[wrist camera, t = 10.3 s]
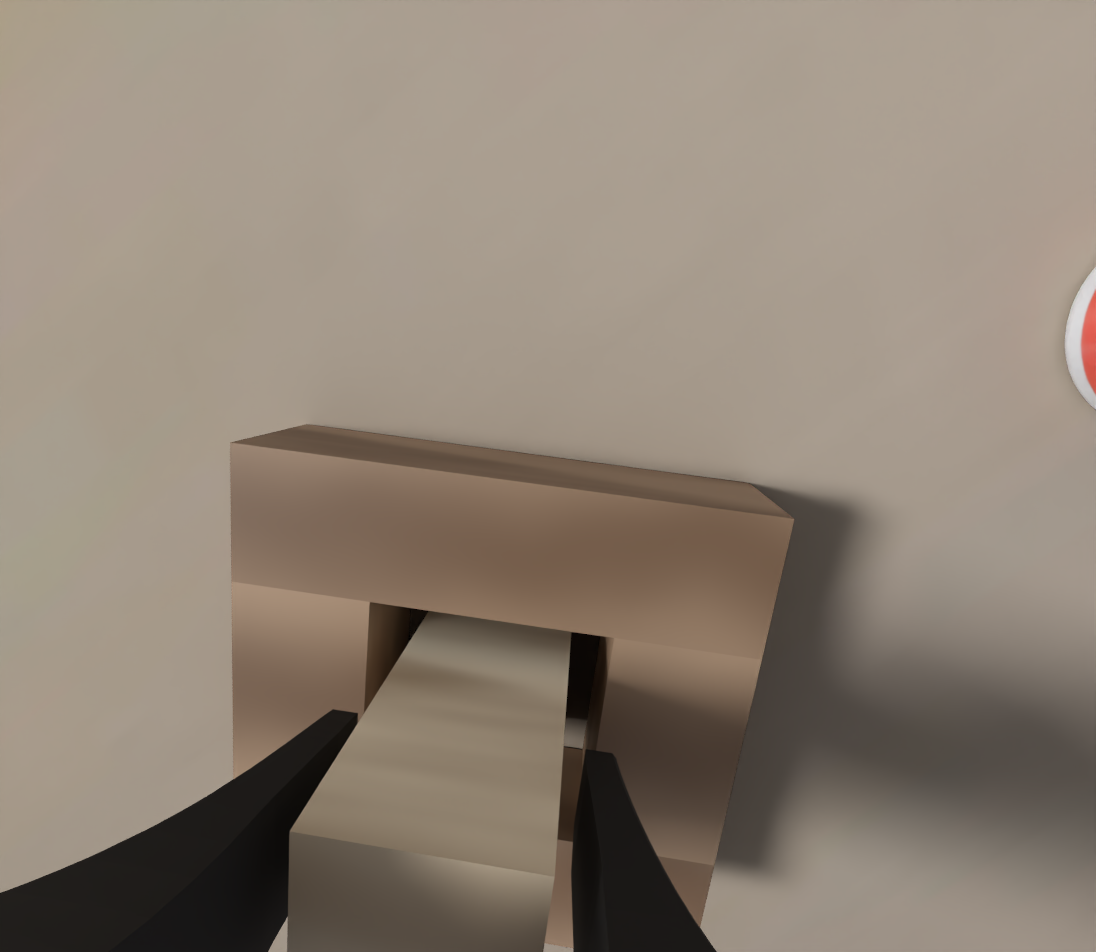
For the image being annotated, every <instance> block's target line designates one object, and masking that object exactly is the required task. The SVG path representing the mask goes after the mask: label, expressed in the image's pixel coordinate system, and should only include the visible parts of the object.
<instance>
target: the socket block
mask: <svg viewBox="0 0 1096 952" xmlns="http://www.w3.org/2000/svg"><path fill="white" fill-rule="evenodd" d="M230 472H231V573H232V674H233V774H234V779H235V778H236V777H238V776H239V775H241V774H242V773H244V772H245V771H247V770H249V769H250V768H252V767H253V766H254V765H256V764H257V763H259V762H260V761H262V760H263V759H264V758H266V757H267V756H269V755H270V754H271V753H273V752H274V751H276V750H277V749H279V748H280V747H281V746H283V745H284V744H285V743H287V742H288V741H290V740H291V739H292V738H294V737H295V736H296V735H298V734H299V733H301V732H302V731H303V730H305V729H306V728H307V727H309V726H310V725H311V724H313V723H314V722H315V721H317V720H318V719H320V718H321V717H322V716H324V715H325V714H327V713H328V712H330V711H331V710H332V709H335V710H342V711H348V712H354V713H358V722H359V721H360V719H361V718H362V716H363V714H364V713H365V711H366V710H367V708H368V706H369V705H370V703H371V702H372V700H373V699H374V697H375V695H376V694H377V692H378V691H379V689H380V687H381V686H382V684H383V683H384V681H385V680H386V678H387V676H388V675H389V673H390V672H391V670H392V668H393V667H394V665H395V664H396V662H397V661H398V659H399V657H400V656H401V654H402V653H403V651H404V650H405V648H406V646H407V645H408V639H409V624H410V610H411V608H414V609H421V610H427V611H434V612H441V613H448V614H455V615H461V616H468V617H475V618H482V619H488V620H495V621H502V622H509V623H516V624H522V625H529V626H536V627H543V628H549V629H556V630H563V631H570V632H577V633H583V634H590V635H597V636H600V641H599V648H598V654H597V661H596V667H595V673H594V680H593V686H592V693H591V699H590V705H589V712H588V718H587V725H586V731H585V737H584V744H583V750H580V749H574V748H567V747H563V762H562V777H561V791H560V806H559V821H558V835H557V850H556V865H555V878H554V884H553V891H552V897H551V904H550V910H549V917H548V923H547V930H546V936H545V942H544V943H547V944H553V945H558V946H564V947H570V948H573V920H572V889H571V865H572V848H573V831H574V820H575V814H576V808H577V801H578V795H579V789H580V782H581V776H582V769H583V763H584V757H585V750H586V749H589V750H596V751H602V752H608V753H613V755H614V756H615V757H616V759H617V763H618V766H619V769H620V772H621V775H622V778H623V780H624V783H625V786H626V788H627V791H628V793H629V796H630V798H631V801H632V803H633V806H634V808H635V810H636V813H637V815H638V817H639V819H640V821H641V823H642V826H643V828H644V830H645V832H646V834H647V836H648V838H649V841H650V842H651V844H652V846H653V848H654V850H655V852H656V854H657V856H658V858H659V860H660V862H661V864H662V866H663V867H664V869H665V871H666V873H667V875H668V877H669V878H670V880H671V882H672V884H673V885H674V887H675V889H676V891H677V892H678V894H679V896H680V897H681V899H682V901H683V902H684V904H685V905H686V907H687V908H688V910H689V912H690V913H691V915H692V916H693V918H694V920H695V921H696V923H697V924H698V926H699V927H700V925H701V921H702V916H703V912H704V908H705V903H706V899H707V895H708V890H709V886H710V882H711V877H712V873H713V869H714V865H715V860H716V856H717V852H718V847H719V843H720V839H721V834H722V830H723V826H724V821H725V817H726V813H727V808H728V804H729V800H730V795H731V791H732V787H733V782H734V778H735V774H736V770H737V765H738V761H739V757H740V752H741V748H742V744H743V739H744V735H745V731H746V726H747V722H748V718H749V713H750V709H751V705H752V700H753V696H754V692H755V687H756V683H757V679H758V675H759V670H760V666H761V662H762V657H763V653H764V649H765V644H766V640H767V636H768V631H769V627H770V623H771V618H772V614H773V610H774V605H775V601H776V597H777V592H778V588H779V584H780V580H781V575H782V571H783V567H784V562H785V558H786V554H787V549H788V545H789V541H790V536H791V532H792V528H793V523H794V518H793V517H791V516H790V515H789V514H788V513H786V512H785V511H784V510H783V509H781V508H780V507H779V506H778V505H776V504H775V503H774V502H772V501H771V500H770V499H769V498H767V497H766V496H765V495H764V494H762V493H761V492H760V491H759V490H757V489H756V488H755V487H754V486H752V485H751V484H750V483H744V482H737V481H729V480H722V479H714V478H706V477H699V476H691V475H684V474H676V473H669V472H661V471H654V470H646V469H639V468H631V467H624V466H616V465H609V464H601V463H593V462H586V461H578V460H571V459H563V458H556V457H548V456H541V455H533V454H526V453H518V452H511V451H503V450H495V449H488V448H480V447H473V446H465V445H458V444H450V443H443V442H435V441H428V440H420V439H413V438H405V437H398V436H390V435H382V434H375V433H367V432H360V431H352V430H345V429H337V428H330V427H322V426H315V425H307V424H306V425H302V426H298V427H293V428H289V429H285V430H281V431H277V432H273V433H268V434H264V435H260V436H256V437H252V438H248V439H243V440H239V441H235V442H231V443H230Z"/></svg>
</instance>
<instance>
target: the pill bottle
mask: <svg viewBox="0 0 1096 952" xmlns="http://www.w3.org/2000/svg"><path fill="white" fill-rule="evenodd" d="M1065 355H1066V362H1067V366H1068V369H1069V373H1070V375H1071V377H1072V380H1073V382H1074V384H1075V386H1076V388H1077V389H1078V391H1079V392H1080V394H1081V395H1082V396H1083V397H1084V399H1085V400H1086V401H1087V402H1088V403H1089V404H1090V405H1091V406H1092V407H1093V408H1094V409H1096V267H1095V268H1094V269H1093V270H1092V272H1091V273H1090V274H1089V276H1088V277H1087V279H1086V280H1085V282H1084V283H1083V284H1082V286H1081V288H1080V290H1079V291H1078V293H1077V295H1076V297H1075V299H1074V302H1073V304H1072V307H1071V310H1070V313H1069V317H1068V321H1067V326H1066V333H1065Z"/></svg>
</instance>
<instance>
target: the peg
mask: <svg viewBox="0 0 1096 952" xmlns="http://www.w3.org/2000/svg"><path fill="white" fill-rule="evenodd" d="M570 644H571V632H570V631H563V630H556V629H549V628H543V627H536V626H529V625H522V624H516V623H509V622H502V621H495V620H488V619H482V618H475V617H468V616H461V615H455V614H448V613H441V612H434V611H429V612H428V613H427V615H426V616H425V618H424V619H423V621H422V623H421V624H420V626H419V627H418V629H417V631H416V632H415V634H414V635H413V637H412V638H411V640H410V642H409V643H408V645H407V646H406V648H405V650H404V651H403V653H402V654H401V656H400V657H399V659H398V661H397V662H396V664H395V665H394V667H393V668H392V670H391V672H390V673H389V675H388V676H387V678H386V680H385V681H384V683H383V684H382V686H381V687H380V689H379V691H378V692H377V694H376V695H375V697H374V699H373V700H372V702H371V703H370V705H369V706H368V708H367V710H366V711H365V713H364V714H363V716H362V718H361V719H360V721H359V722H358V724H357V725H356V727H355V729H354V730H353V732H352V733H351V735H350V737H349V738H348V740H347V741H346V743H345V744H344V746H343V748H342V749H341V751H340V752H339V754H338V755H337V757H336V759H335V760H334V762H333V763H332V765H331V767H330V768H329V770H328V771H327V773H326V774H325V776H324V778H323V779H322V781H321V782H320V784H319V786H318V787H317V789H316V790H315V792H314V793H313V795H312V797H311V798H310V800H309V801H308V803H307V805H306V806H305V808H304V809H303V811H302V812H301V814H300V816H299V817H298V819H297V820H296V822H295V824H294V825H293V827H292V828H291V830H290V834H289V886H288V938H287V952H543V949H544V942H545V936H546V930H547V923H548V917H549V910H550V904H551V897H552V891H553V884H554V878H555V865H556V850H557V835H558V821H559V806H560V791H561V777H562V762H563V747H564V732H565V718H566V703H567V688H568V674H569V659H570Z"/></svg>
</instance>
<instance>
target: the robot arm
mask: <svg viewBox="0 0 1096 952" xmlns="http://www.w3.org/2000/svg"><path fill="white" fill-rule="evenodd" d="M357 724H358V713H354V712H348V711H342V710H335V709H332V710H331V711H330V712H328V713H327V714H325V715H324V716H322V717H321V718H320V719H318V720H317V721H315V722H314V723H313V724H311V725H310V726H309V727H307V728H306V729H305V730H303V731H302V732H301V733H299V734H298V735H296V736H295V737H294V738H292V739H291V740H290V741H288V742H287V743H285V744H284V745H283V746H281V747H280V748H279V749H277V750H276V751H274V752H273V753H271V754H270V755H269V756H267V757H266V758H264V759H263V760H262V761H260V762H259V763H257V764H256V765H254V766H253V767H252V768H250V769H249V770H247V771H245V772H244V773H242V774H241V775H239V776H238V777H236V778H235V779H233V780H232V781H230V782H229V783H227V784H225V785H224V786H222V787H221V788H219V789H218V790H216V791H215V792H213V793H212V794H210V795H208V796H207V797H205V798H203V799H202V800H200V801H198V802H196V803H195V804H193V805H191V806H190V807H188V808H186V809H184V810H183V811H181V812H179V813H177V814H175V815H173V816H172V817H170V818H168V819H166V820H164V821H163V822H161V823H159V824H157V825H155V826H153V827H151V828H149V829H147V830H145V831H143V832H141V833H139V834H137V835H135V836H133V837H131V838H129V839H127V840H124V841H122V842H120V843H118V844H116V845H114V846H112V847H110V848H108V849H106V850H104V851H102V852H100V853H98V854H95V855H93V856H91V857H89V858H86V859H84V860H82V861H79V862H77V863H75V864H72V865H70V866H68V867H65V868H63V869H61V870H58V871H56V872H53V873H51V874H48V875H46V876H43V877H41V878H38V879H36V880H33V881H31V882H29V883H26V884H23V885H21V886H18V887H15V888H13V889H10V890H7V891H5V892H2V893H0V952H268V950H269V949H270V947H271V945H272V943H273V941H274V939H275V937H276V936H277V934H278V932H279V930H280V929H281V927H282V925H283V923H284V922H285V920H286V918H287V916H288V886H289V834H290V830H291V828H292V827H293V825H294V824H295V822H296V820H297V819H298V817H299V816H300V814H301V812H302V811H303V809H304V808H305V806H306V805H307V803H308V801H309V800H310V798H311V797H312V795H313V793H314V792H315V790H316V789H317V787H318V786H319V784H320V782H321V781H322V779H323V778H324V776H325V774H326V773H327V771H328V770H329V768H330V767H331V765H332V763H333V762H334V760H335V759H336V757H337V755H338V754H339V752H340V751H341V749H342V748H343V746H344V744H345V743H346V741H347V740H348V738H349V737H350V735H351V733H352V732H353V730H354V729H355V727H356V725H357ZM571 889H572V920H573V949H574V952H716V950H715V949H714V948H713V946H712V945H711V943H710V942H709V940H708V939H707V937H706V936H705V934H704V933H703V931H702V930H701V928H700V927H699V926H698V924H697V923H696V921H695V920H694V918H693V916H692V915H691V913H690V912H689V910H688V908H687V907H686V905H685V904H684V902H683V901H682V899H681V897H680V896H679V894H678V892H677V891H676V889H675V887H674V885H673V884H672V882H671V880H670V878H669V877H668V875H667V873H666V871H665V869H664V867H663V866H662V864H661V862H660V860H659V858H658V856H657V854H656V852H655V850H654V848H653V846H652V844H651V842H650V841H649V838H648V836H647V834H646V832H645V830H644V828H643V826H642V823H641V821H640V819H639V817H638V815H637V813H636V810H635V808H634V806H633V803H632V801H631V798H630V796H629V793H628V791H627V788H626V786H625V783H624V780H623V778H622V775H621V772H620V769H619V766H618V763H617V759H616V757H615V756H614V755H613V753H608V752H602V751H596V750H589V749H586V750H585V757H584V763H583V769H582V776H581V782H580V789H579V795H578V801H577V808H576V814H575V820H574V831H573V848H572V865H571Z"/></svg>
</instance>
